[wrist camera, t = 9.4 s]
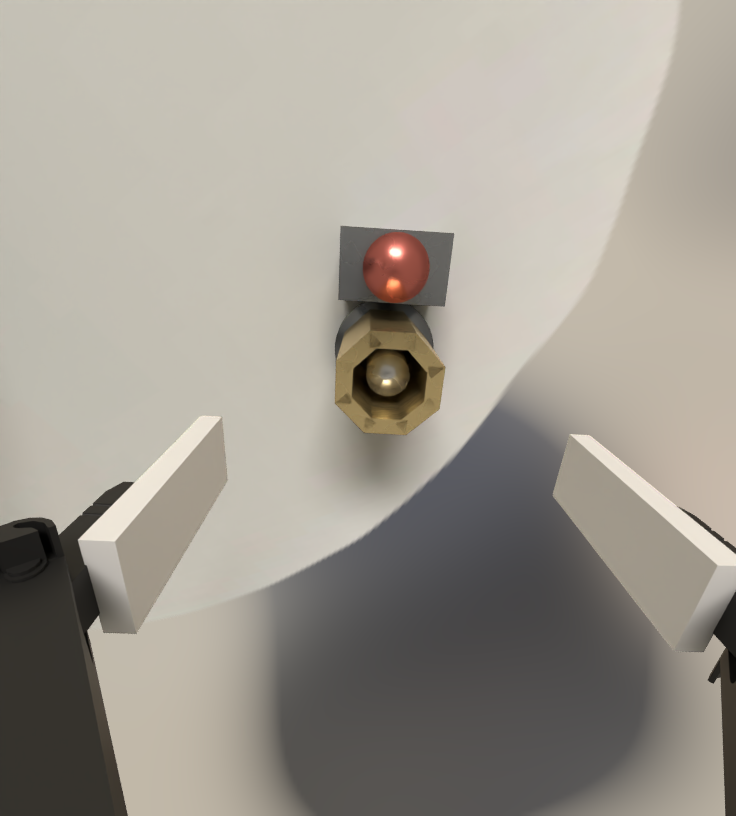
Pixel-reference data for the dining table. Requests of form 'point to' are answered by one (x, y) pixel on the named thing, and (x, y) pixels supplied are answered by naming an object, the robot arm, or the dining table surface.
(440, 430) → the dining table surface
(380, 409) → the tan octagonal tube
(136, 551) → the robot arm
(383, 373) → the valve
